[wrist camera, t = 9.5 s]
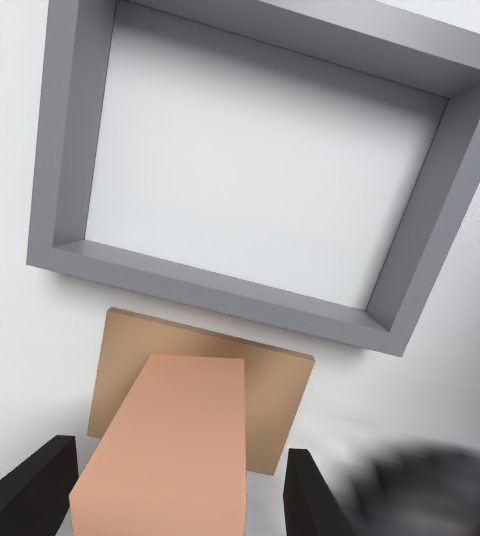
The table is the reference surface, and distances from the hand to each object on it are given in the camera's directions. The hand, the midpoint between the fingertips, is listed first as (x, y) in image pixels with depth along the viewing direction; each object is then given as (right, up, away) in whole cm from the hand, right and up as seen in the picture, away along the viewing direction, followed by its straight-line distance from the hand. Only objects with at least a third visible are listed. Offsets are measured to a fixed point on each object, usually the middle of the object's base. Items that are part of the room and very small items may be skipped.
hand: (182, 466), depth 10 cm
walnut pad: (0, +1, +4) cm, 4 cm away
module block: (0, +1, +3) cm, 3 cm away
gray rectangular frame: (+3, +10, +1) cm, 11 cm away
